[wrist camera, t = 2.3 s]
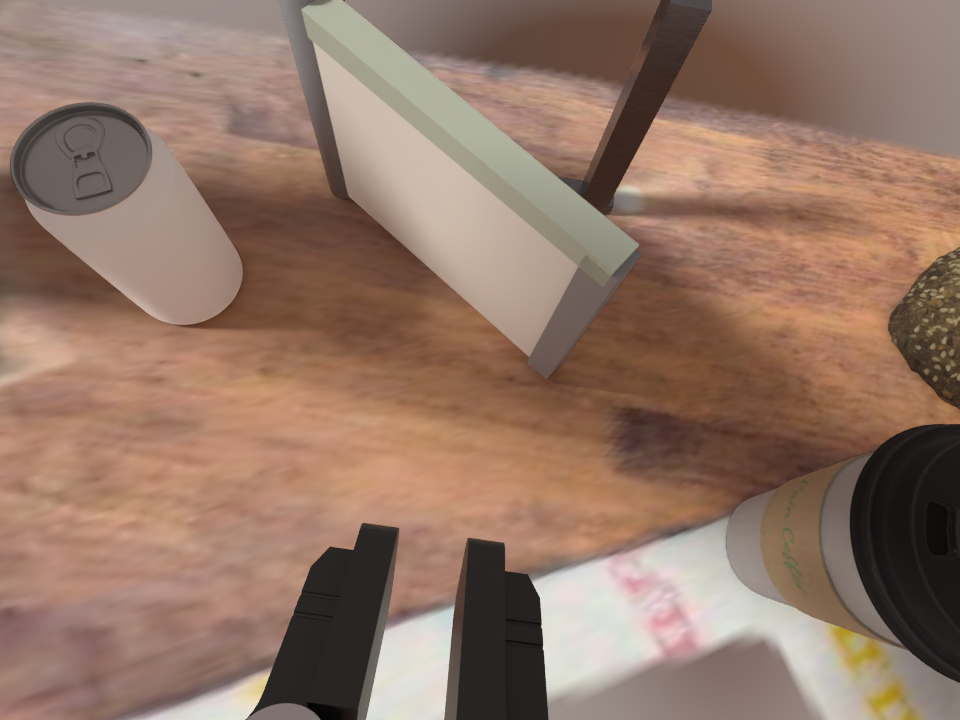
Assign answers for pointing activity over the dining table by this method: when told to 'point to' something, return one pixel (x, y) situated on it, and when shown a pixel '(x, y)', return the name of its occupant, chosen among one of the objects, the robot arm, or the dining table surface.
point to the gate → (454, 185)
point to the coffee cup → (866, 544)
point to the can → (127, 210)
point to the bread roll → (932, 327)
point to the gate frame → (642, 97)
